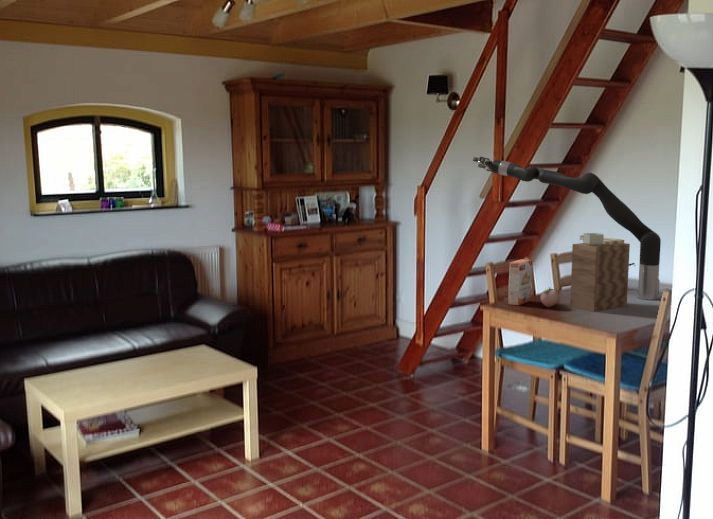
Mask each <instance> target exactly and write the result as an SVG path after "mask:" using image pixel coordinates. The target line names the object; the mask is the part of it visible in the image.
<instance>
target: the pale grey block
mask: <svg viewBox="0 0 713 519" xmlns="http://www.w3.org/2000/svg"><path fill="white" fill-rule="evenodd" d="M583 235H584V236H583V240H582V241H583V242H582V243H584V245H588V246H601V245H602V243H603V239H604V238H605V236H604V234H603V233H598V232H587V233H583Z"/></svg>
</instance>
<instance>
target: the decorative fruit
mask: <svg viewBox="0 0 713 519" xmlns="http://www.w3.org/2000/svg"><path fill="white" fill-rule="evenodd" d="M539 298H540V301H541V303H542V305H544V306H545V307H547V308H548V309H550V308H551V307H553V306H555V305H557V304H558V302H559V301H560V295H559V293H558V291H556V290H555V289H554V288H551V286H549V288H547V289H545V290H544V291H542V292H541V294H540V296H539Z"/></svg>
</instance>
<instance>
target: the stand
mask: <svg viewBox="0 0 713 519" xmlns="http://www.w3.org/2000/svg"><path fill="white" fill-rule="evenodd" d="M630 246H631V245H630V243H628V242H627V243H626V242H624V243H621V244H612V245H607V244H602V245H601V246H588V245H584V242H581V243H572V246H571V247H572V249H571V250H572V251H571V252H572V253H571V273H570V274H571V277H570V302H569V303H570V304H569V306H571V308H574V307H575V309H579V310H584V311H589V312H591V313H592V312H593V313H594V312H600V311H606V310H607V311H608V310H612V309H618V308H625V307H627V306H628V289H629V287H628V286H629V270H630V269H629V268H630V266H629V264H630V249H631V248H630Z"/></svg>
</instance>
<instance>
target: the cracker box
mask: <svg viewBox="0 0 713 519" xmlns="http://www.w3.org/2000/svg"><path fill="white" fill-rule="evenodd" d="M532 265H533V260H532V259H524V258H521V259H518V260H514V261H511V262H509V267H508V269H509V270H508V271H509V272H508V274H509V275H508V294H507V296H508V297H507V298H508V299H507V305H510V306H516V305H517V306H521V305H524V304H527V303H529V302H531V291H532V289H531V288H532V271H533V270H532ZM517 306H516V307H517Z"/></svg>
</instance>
